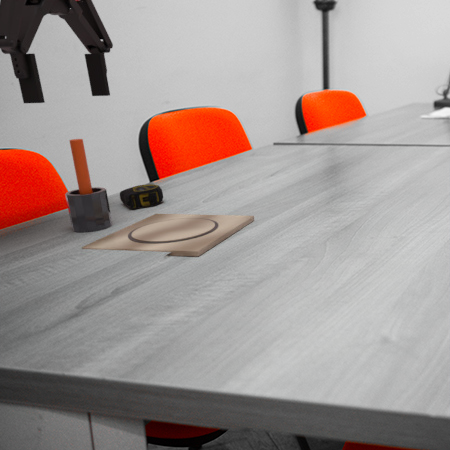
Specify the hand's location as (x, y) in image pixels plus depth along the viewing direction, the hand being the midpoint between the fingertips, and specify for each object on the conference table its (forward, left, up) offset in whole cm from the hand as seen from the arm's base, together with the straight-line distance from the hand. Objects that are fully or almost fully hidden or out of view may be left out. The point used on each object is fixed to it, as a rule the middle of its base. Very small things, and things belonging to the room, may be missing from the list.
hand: (70, 99), depth 85 cm
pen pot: (-1, 0, -21) cm, 21 cm away
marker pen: (-1, 0, -20) cm, 20 cm away
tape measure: (-2, +14, -21) cm, 25 cm away
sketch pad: (+14, -1, -21) cm, 25 cm away
